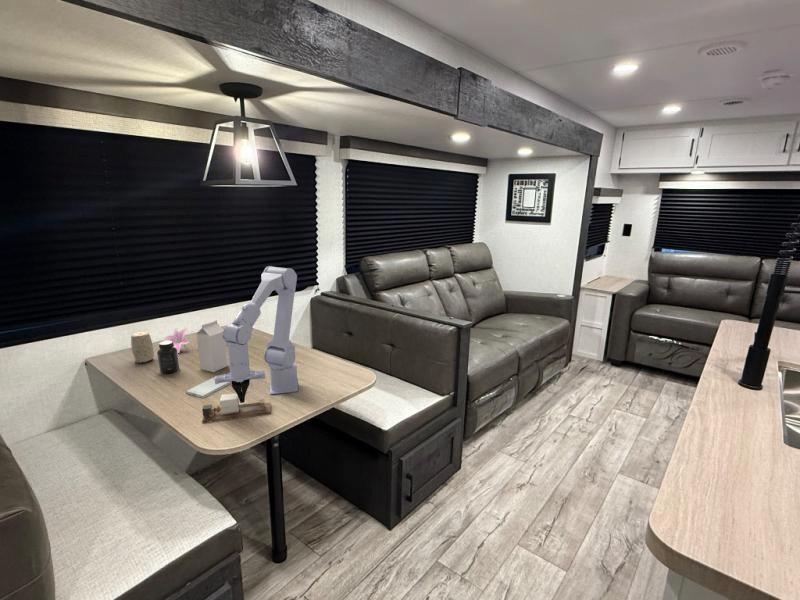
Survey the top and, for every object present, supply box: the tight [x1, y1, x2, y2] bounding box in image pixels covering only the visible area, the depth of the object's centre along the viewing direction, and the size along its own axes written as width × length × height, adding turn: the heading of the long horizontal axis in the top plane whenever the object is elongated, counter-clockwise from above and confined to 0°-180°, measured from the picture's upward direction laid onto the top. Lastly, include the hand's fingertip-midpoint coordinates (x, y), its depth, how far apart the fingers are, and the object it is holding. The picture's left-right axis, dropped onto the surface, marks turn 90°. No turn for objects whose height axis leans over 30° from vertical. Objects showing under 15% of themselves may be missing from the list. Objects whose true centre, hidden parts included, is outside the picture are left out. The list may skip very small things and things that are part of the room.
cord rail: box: [201, 399, 272, 423], centre depth 132 cm, size 20×6×4 cm, turn 108°
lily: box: [162, 327, 190, 354], centre depth 183 cm, size 12×12×10 cm
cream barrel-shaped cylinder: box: [130, 331, 155, 364], centre depth 170 cm, size 6×8×12 cm
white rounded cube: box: [219, 392, 240, 415], centre depth 131 cm, size 5×4×5 cm
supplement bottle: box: [156, 340, 180, 375], centre depth 161 cm, size 7×7×12 cm
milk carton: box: [196, 319, 228, 373], centre depth 164 cm, size 7×7×19 cm
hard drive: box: [185, 376, 231, 399], centre depth 149 cm, size 2×8×12 cm
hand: (242, 401), depth 132 cm, fingers closed
